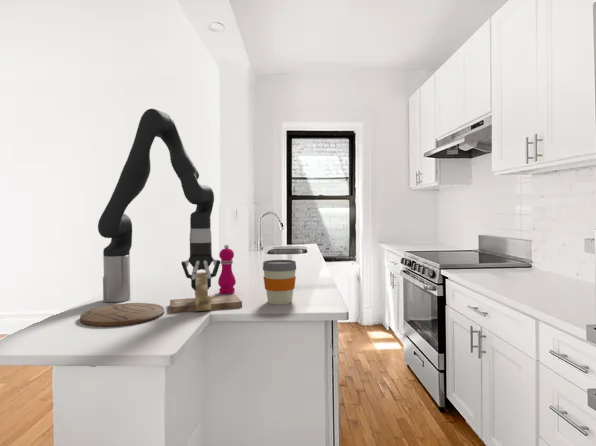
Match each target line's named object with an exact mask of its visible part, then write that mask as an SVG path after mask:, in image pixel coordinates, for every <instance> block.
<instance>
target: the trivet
mask: <svg viewBox="0 0 596 446" xmlns="http://www.w3.org/2000/svg"><path fill="white" fill-rule="evenodd" d="M164 314H165V308H164V306H163V305H161V304H156V303H149V302H133V303H132V302H125V303H116V304H108V305H104V306H99V307H96V308H91V309H89V310H86V311H84V312H82V313H81V314H80V317H79V321H80V323H81V324H82V325H84V326H86V327H87V326H88V327H94V328H95V327H96V328H115V327H126V326H134V325H138V324H139V325H140V324H144V323H148V322H153V321H155V320H157V319H159V318H161V317H163V316H164Z"/></svg>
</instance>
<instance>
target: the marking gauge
mask: <svg viewBox="0 0 596 446" xmlns="http://www.w3.org/2000/svg"><path fill="white" fill-rule="evenodd" d="M195 281H196V290H194V298H195V305H196V311H195V312H200V311H203V312H204V311H212V310H211V297H212V296H211V295H208V294H209V292H208V290H209V289H208V280H207V273H206V272H205V271H202V272H197V273H196V274H195Z"/></svg>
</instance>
